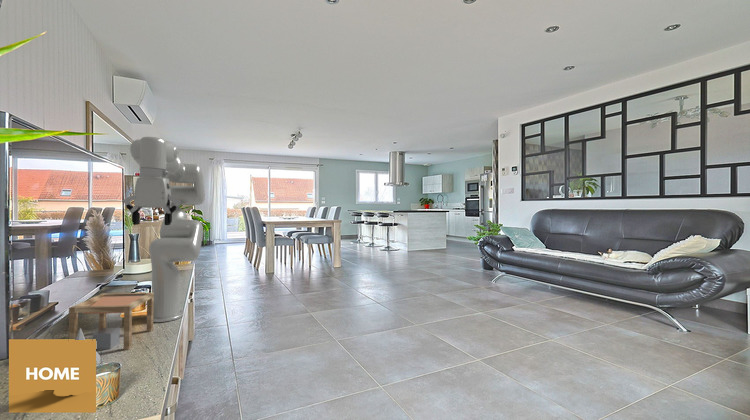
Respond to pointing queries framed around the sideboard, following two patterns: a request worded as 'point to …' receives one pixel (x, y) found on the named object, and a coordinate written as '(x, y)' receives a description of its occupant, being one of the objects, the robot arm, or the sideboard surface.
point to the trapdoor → (113, 302)
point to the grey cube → (107, 338)
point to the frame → (127, 310)
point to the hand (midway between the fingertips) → (152, 224)
